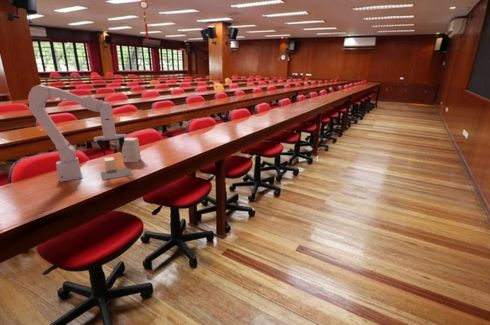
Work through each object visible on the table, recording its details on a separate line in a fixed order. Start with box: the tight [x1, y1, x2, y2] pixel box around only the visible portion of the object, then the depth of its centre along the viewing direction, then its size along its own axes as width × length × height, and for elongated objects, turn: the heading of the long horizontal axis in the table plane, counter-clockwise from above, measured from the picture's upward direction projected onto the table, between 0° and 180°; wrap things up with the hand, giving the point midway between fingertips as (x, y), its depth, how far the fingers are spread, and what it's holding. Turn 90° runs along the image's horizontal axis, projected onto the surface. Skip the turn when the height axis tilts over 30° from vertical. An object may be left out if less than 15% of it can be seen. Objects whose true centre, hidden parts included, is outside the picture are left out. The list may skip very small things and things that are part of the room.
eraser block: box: [103, 156, 117, 172], centre depth 144 cm, size 4×6×6 cm
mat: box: [100, 167, 134, 181], centre depth 138 cm, size 14×12×1 cm
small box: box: [121, 137, 142, 163], centre depth 156 cm, size 8×6×13 cm
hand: (113, 153), depth 139 cm, fingers open, 7 cm apart
